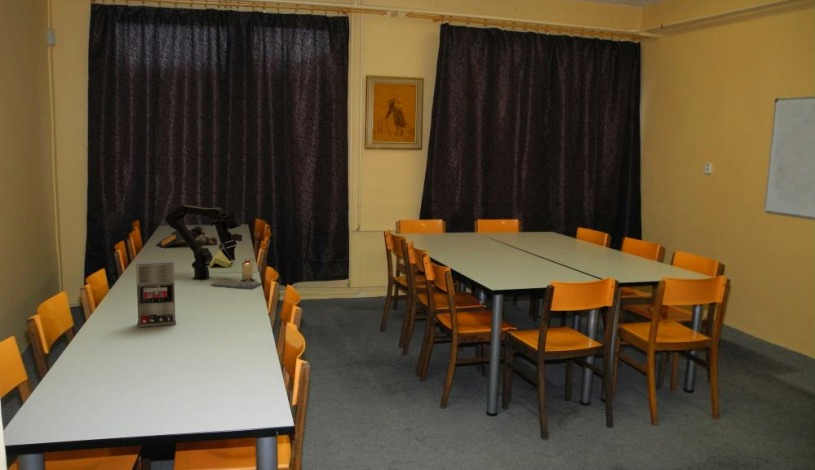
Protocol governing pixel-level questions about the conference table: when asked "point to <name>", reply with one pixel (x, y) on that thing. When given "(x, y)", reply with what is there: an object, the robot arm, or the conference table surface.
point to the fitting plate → (237, 284)
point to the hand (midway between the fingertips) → (232, 260)
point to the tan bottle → (247, 271)
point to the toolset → (176, 237)
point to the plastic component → (220, 260)
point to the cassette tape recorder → (155, 293)
